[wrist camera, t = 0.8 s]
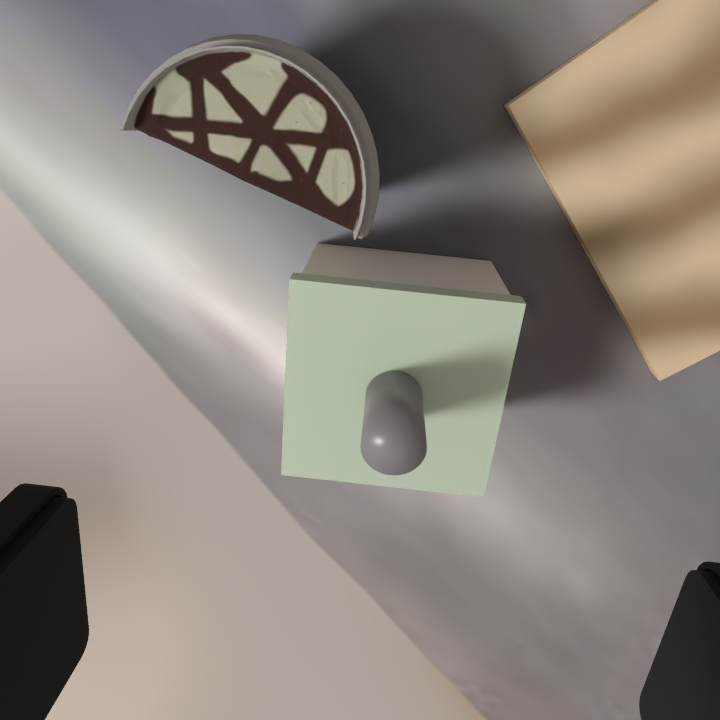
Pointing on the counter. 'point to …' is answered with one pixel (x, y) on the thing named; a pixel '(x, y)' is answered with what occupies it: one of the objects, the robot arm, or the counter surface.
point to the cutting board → (642, 171)
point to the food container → (266, 123)
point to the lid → (396, 382)
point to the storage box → (405, 268)
